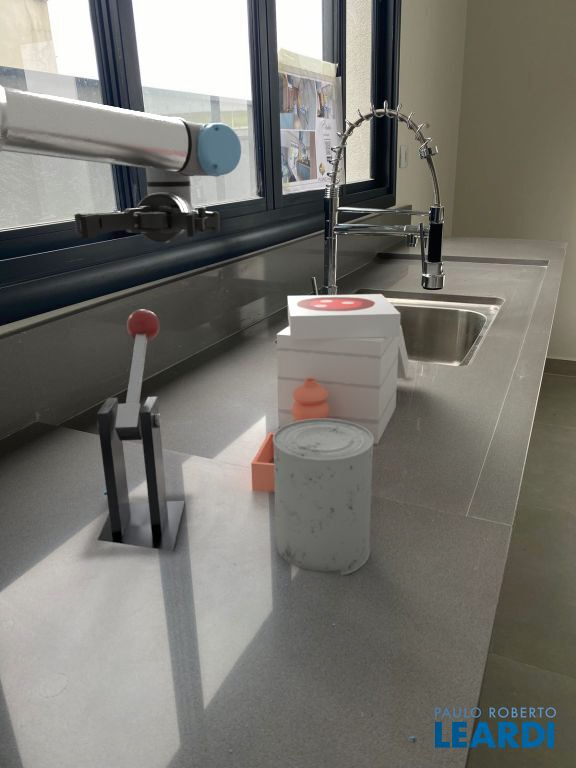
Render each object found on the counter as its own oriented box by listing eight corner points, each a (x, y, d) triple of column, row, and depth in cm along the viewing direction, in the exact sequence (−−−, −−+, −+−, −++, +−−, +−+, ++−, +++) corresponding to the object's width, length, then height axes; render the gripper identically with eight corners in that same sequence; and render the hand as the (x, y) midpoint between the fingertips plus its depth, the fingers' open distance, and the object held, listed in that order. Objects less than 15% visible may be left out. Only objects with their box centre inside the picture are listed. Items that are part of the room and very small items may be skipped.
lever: (132, 325, 70) (125, 302, 67) (163, 324, 70) (158, 302, 67) (113, 444, 60) (105, 424, 57) (150, 443, 60) (143, 422, 57)
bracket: (114, 512, 68) (99, 389, 64) (185, 509, 69) (175, 386, 64) (91, 565, 59) (71, 425, 54) (173, 562, 59) (161, 423, 54)
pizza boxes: (418, 384, 109) (424, 284, 103) (388, 452, 82) (394, 322, 76) (316, 374, 115) (316, 279, 109) (257, 435, 88) (254, 313, 82)
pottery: (332, 502, 70) (332, 423, 67) (252, 495, 72) (249, 418, 68) (347, 439, 86) (348, 374, 83) (282, 435, 88) (281, 371, 85)
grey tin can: (264, 532, 64) (261, 425, 60) (347, 516, 67) (350, 413, 63) (291, 587, 55) (290, 466, 51) (386, 567, 58) (391, 450, 54)
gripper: (240, 239, 100) (234, 254, 80) (87, 241, 99) (43, 257, 79) (238, 191, 97) (232, 195, 77) (82, 193, 97) (35, 197, 76)
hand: (136, 226), depth 78 cm, fingers open, 13 cm apart
